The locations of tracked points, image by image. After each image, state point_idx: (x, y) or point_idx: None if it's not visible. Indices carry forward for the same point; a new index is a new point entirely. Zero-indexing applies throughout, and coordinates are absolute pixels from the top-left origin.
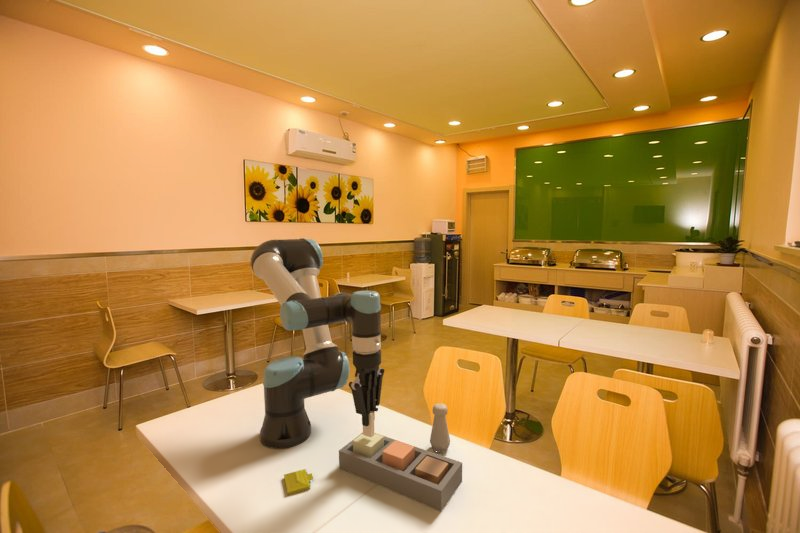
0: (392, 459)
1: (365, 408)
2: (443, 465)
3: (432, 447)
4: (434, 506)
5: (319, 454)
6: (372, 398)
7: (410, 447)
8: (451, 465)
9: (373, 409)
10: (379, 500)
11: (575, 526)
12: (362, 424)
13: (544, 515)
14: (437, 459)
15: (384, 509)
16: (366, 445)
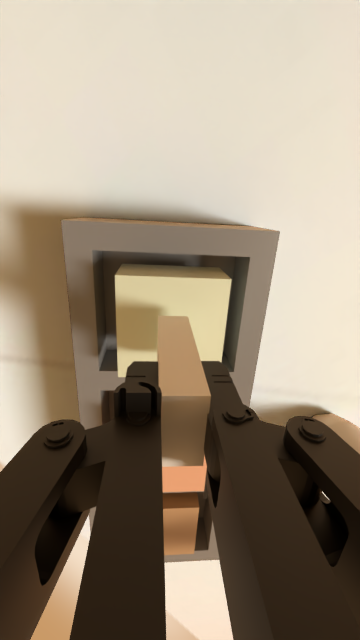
0: None
1: (68, 555)
2: (178, 549)
3: (314, 418)
4: None
5: (106, 56)
6: (230, 613)
7: (195, 483)
8: (208, 536)
9: (206, 482)
10: (48, 406)
11: (189, 630)
12: (130, 366)
13: (190, 607)
14: (196, 531)
15: (31, 429)
16: (118, 353)
